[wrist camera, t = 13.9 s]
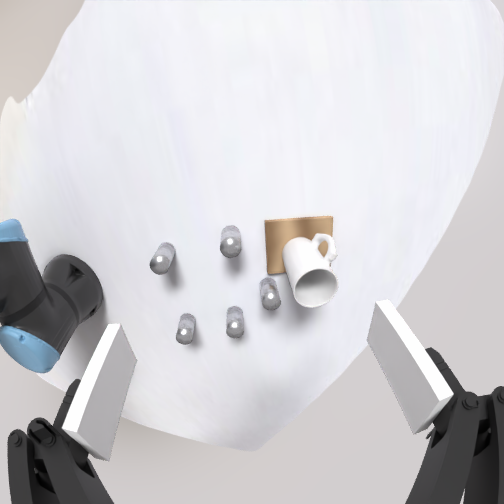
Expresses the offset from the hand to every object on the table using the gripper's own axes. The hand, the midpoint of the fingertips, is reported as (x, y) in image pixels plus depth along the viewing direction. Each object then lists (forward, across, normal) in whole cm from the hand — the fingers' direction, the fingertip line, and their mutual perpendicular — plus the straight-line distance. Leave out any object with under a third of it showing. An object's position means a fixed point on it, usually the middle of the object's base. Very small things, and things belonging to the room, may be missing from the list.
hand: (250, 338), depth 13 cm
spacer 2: (+35, -13, -26) cm, 45 cm away
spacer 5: (+35, +4, -19) cm, 40 cm away
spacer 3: (+35, -2, -8) cm, 36 cm away
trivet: (+35, +10, -11) cm, 38 cm away
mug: (+34, +11, -11) cm, 37 cm away
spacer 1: (+35, -14, -10) cm, 39 cm away
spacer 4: (+35, -3, -25) cm, 43 cm away
